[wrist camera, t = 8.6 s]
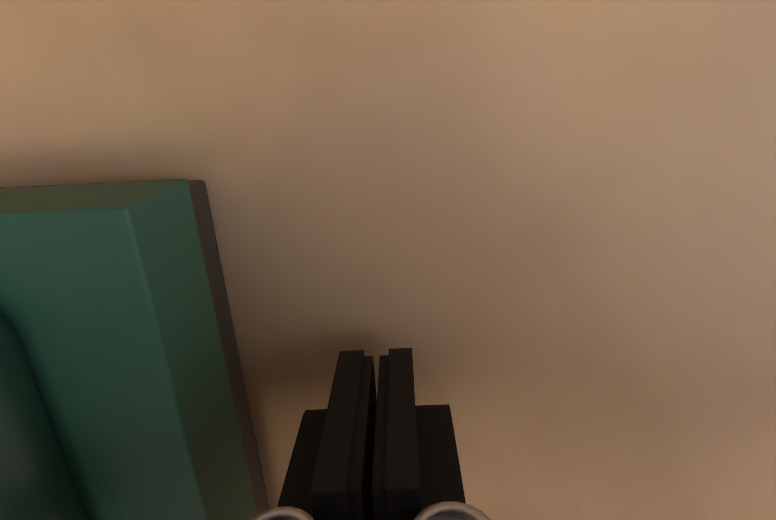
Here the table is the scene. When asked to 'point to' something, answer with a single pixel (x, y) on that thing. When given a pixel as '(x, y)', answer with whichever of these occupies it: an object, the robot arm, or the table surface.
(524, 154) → the table surface
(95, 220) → the scrub brush
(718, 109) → the table surface
